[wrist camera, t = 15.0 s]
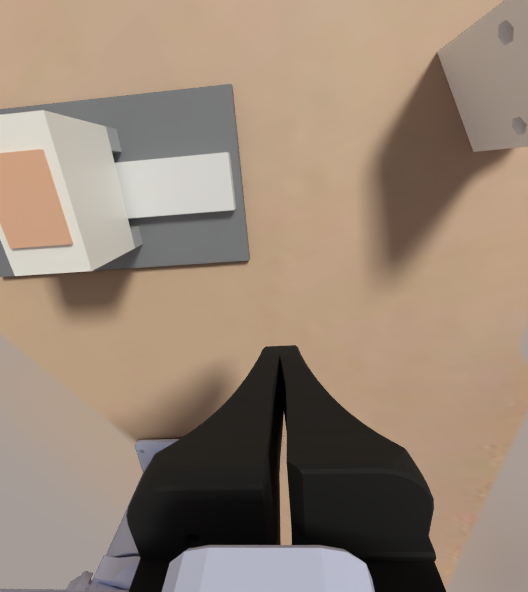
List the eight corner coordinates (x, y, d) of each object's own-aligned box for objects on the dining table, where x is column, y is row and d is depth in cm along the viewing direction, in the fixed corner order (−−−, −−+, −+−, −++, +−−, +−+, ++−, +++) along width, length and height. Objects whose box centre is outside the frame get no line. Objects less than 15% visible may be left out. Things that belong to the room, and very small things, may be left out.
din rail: (249, 258, 21) (248, 263, 20) (4, 274, 22) (-11, 280, 21) (232, 86, 17) (229, 80, 16) (-61, 118, 19) (-84, 114, 17)
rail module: (142, 244, 20) (89, 272, 15) (85, 248, 21) (11, 277, 15) (116, 129, 18) (39, 109, 12) (51, 135, 18) (-54, 119, 12)
